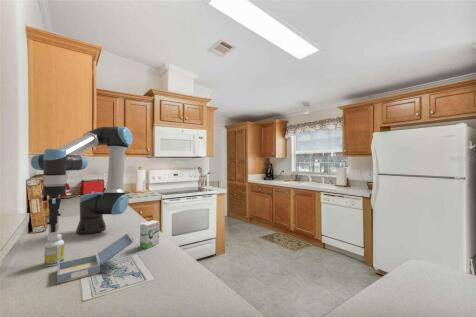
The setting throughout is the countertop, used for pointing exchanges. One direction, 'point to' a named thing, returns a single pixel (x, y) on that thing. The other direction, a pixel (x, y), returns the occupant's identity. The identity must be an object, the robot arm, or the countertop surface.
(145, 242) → the ink box
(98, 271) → the box
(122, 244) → the lid
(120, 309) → the countertop surface
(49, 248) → the pill bottle
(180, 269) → the countertop surface
